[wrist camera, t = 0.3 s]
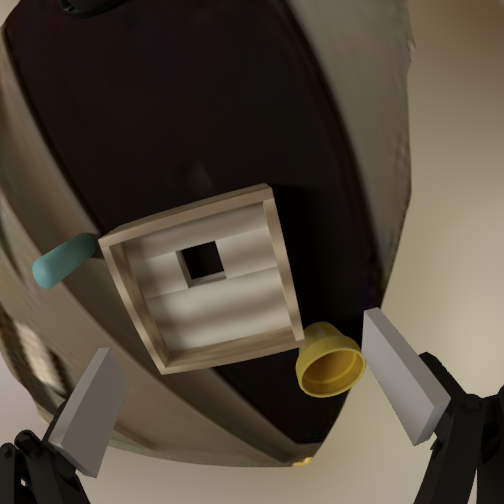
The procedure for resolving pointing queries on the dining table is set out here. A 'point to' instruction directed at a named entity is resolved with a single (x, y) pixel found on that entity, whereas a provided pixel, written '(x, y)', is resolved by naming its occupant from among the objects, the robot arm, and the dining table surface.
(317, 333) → the plant pot
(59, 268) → the peg
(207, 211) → the box
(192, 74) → the dining table surface
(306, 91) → the dining table surface
